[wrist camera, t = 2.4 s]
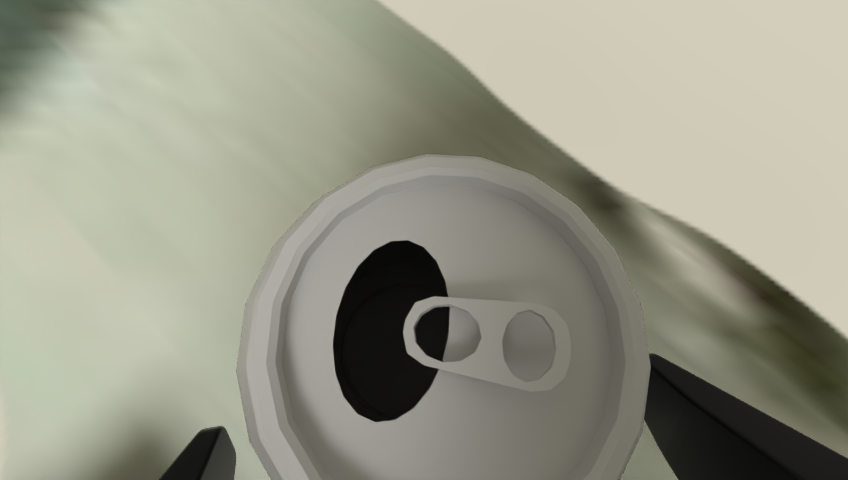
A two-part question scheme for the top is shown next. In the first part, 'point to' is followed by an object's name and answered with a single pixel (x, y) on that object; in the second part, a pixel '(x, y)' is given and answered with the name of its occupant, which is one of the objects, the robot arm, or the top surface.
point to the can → (443, 334)
